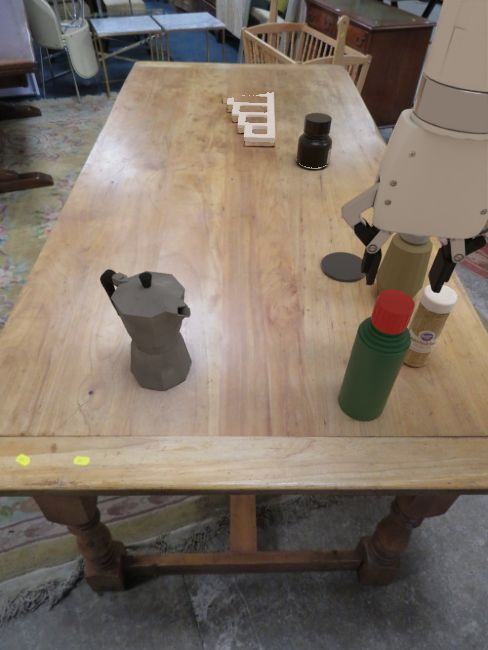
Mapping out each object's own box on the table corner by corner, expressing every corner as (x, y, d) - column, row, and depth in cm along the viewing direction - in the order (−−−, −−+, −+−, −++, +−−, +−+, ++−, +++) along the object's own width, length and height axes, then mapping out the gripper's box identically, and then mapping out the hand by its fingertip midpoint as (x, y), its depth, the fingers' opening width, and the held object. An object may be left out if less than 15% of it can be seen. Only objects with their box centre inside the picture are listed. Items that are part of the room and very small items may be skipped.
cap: (404, 312, 53) (412, 291, 50) (408, 336, 50) (417, 316, 47) (369, 308, 53) (376, 287, 51) (371, 332, 50) (378, 311, 48)
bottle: (381, 387, 65) (420, 289, 51) (384, 424, 60) (428, 327, 47) (338, 382, 65) (365, 283, 52) (338, 417, 61) (367, 320, 47)
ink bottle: (335, 167, 117) (343, 121, 109) (308, 173, 114) (314, 126, 106) (316, 153, 123) (322, 109, 115) (289, 159, 120) (293, 113, 112)
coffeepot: (214, 366, 67) (210, 273, 54) (175, 409, 61) (160, 316, 49) (139, 326, 73) (120, 234, 60) (98, 362, 67) (66, 269, 54)
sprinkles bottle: (402, 368, 67) (430, 304, 58) (394, 346, 71) (419, 282, 61) (431, 368, 68) (464, 303, 58) (422, 346, 71) (451, 282, 61)
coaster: (365, 256, 88) (366, 254, 88) (368, 284, 82) (368, 282, 81) (321, 252, 89) (321, 249, 89) (320, 279, 83) (320, 276, 82)
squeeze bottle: (370, 279, 83) (394, 192, 70) (413, 284, 82) (446, 196, 70) (373, 308, 77) (400, 218, 64) (419, 313, 76) (456, 223, 64)
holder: (274, 147, 126) (275, 137, 124) (212, 145, 126) (212, 135, 124) (273, 96, 158) (273, 88, 156) (223, 95, 158) (223, 86, 156)
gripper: (562, 97, 36) (475, 269, 49) (353, 81, 38) (321, 252, 50) (600, 131, 31) (492, 314, 44) (355, 111, 32) (319, 293, 45)
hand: (401, 279), depth 47 cm, fingers open, 6 cm apart
